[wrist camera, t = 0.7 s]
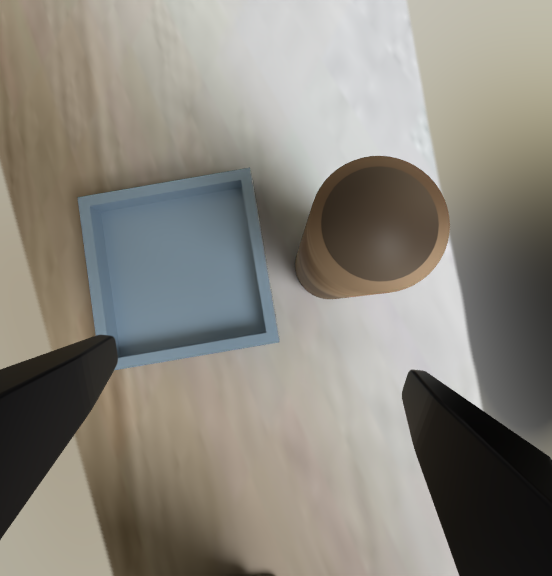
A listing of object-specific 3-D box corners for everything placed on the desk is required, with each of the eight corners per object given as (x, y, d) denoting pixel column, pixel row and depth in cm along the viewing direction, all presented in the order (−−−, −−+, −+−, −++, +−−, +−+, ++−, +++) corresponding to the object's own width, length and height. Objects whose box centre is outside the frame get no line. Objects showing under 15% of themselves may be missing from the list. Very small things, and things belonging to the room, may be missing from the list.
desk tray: (279, 338, 23) (279, 342, 21) (117, 366, 23) (100, 372, 21) (252, 180, 24) (249, 167, 22) (95, 207, 24) (77, 197, 22)
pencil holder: (368, 295, 24) (459, 285, 11) (298, 302, 24) (317, 299, 12) (360, 227, 24) (440, 148, 12) (291, 234, 24) (302, 163, 12)
